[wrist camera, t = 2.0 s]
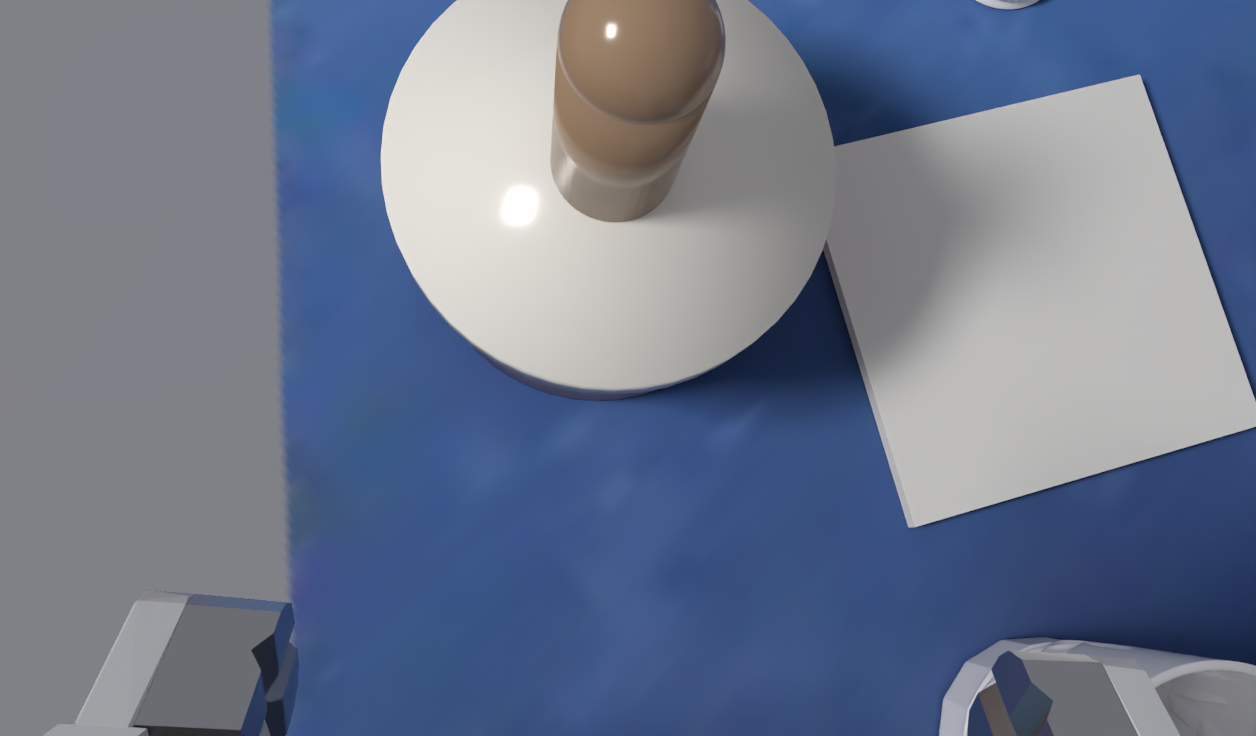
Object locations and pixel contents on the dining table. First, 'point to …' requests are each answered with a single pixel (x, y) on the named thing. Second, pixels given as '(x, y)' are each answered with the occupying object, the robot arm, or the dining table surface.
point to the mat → (1029, 299)
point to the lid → (608, 183)
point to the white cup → (1187, 685)
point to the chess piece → (1007, 3)
